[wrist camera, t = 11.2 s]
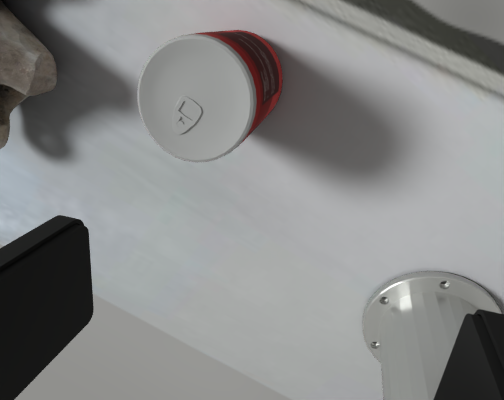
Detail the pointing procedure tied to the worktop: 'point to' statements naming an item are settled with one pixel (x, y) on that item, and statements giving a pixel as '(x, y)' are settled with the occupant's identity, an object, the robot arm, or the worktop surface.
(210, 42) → the canned food
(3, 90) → the grey piece
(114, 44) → the worktop surface
